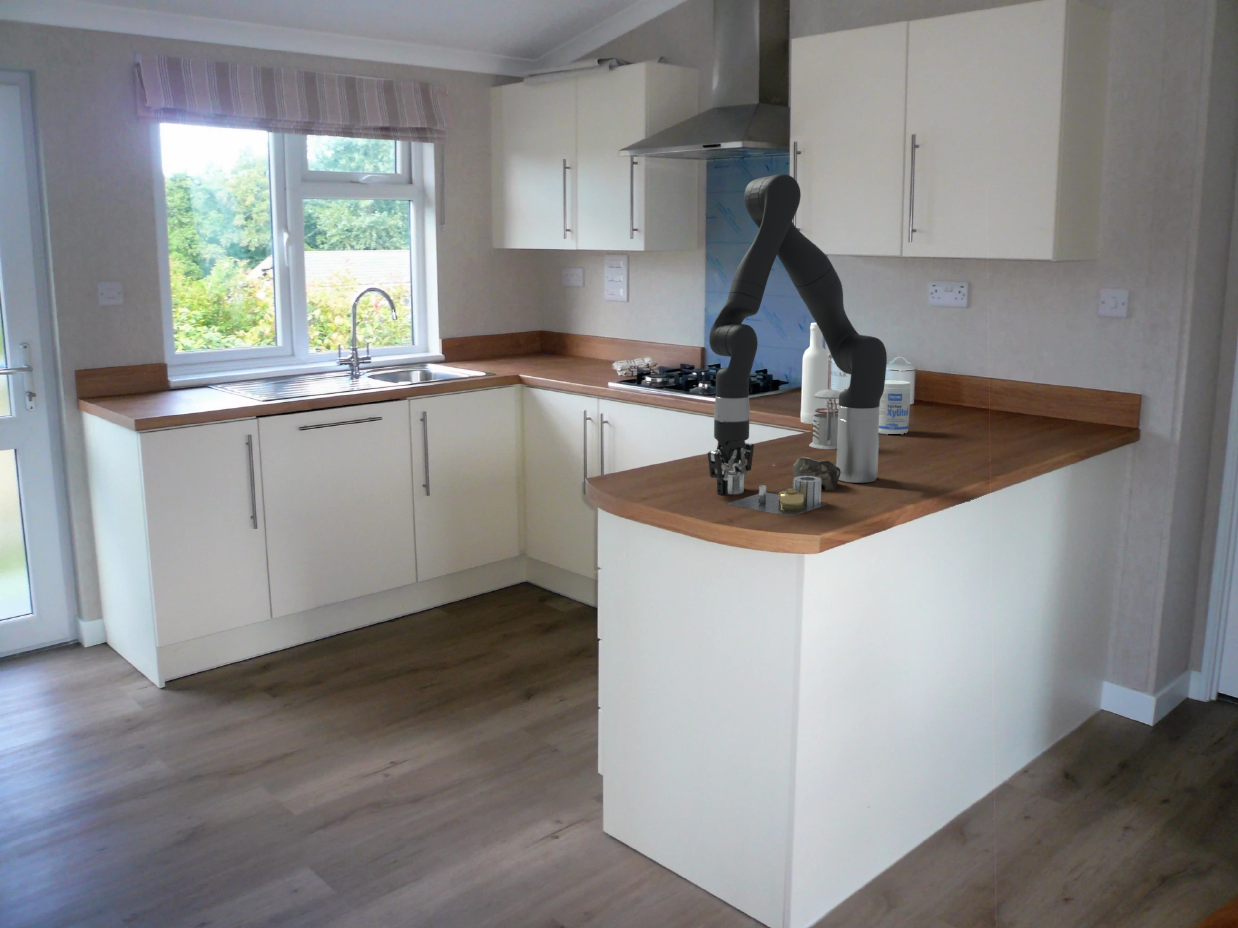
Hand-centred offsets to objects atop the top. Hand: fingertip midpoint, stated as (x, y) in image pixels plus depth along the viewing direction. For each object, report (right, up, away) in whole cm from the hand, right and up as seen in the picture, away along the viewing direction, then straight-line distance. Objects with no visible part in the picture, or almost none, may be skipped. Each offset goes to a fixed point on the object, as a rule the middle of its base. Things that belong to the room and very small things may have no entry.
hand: (730, 493), depth 234 cm
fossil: (+19, 0, +6) cm, 20 cm away
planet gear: (0, -1, 0) cm, 0 cm away
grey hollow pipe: (+15, -2, -10) cm, 18 cm away
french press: (+32, +11, +56) cm, 66 cm away
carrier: (+8, -3, -11) cm, 14 cm away
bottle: (+35, +19, +94) cm, 102 cm away
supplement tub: (+54, +15, +76) cm, 95 cm away
